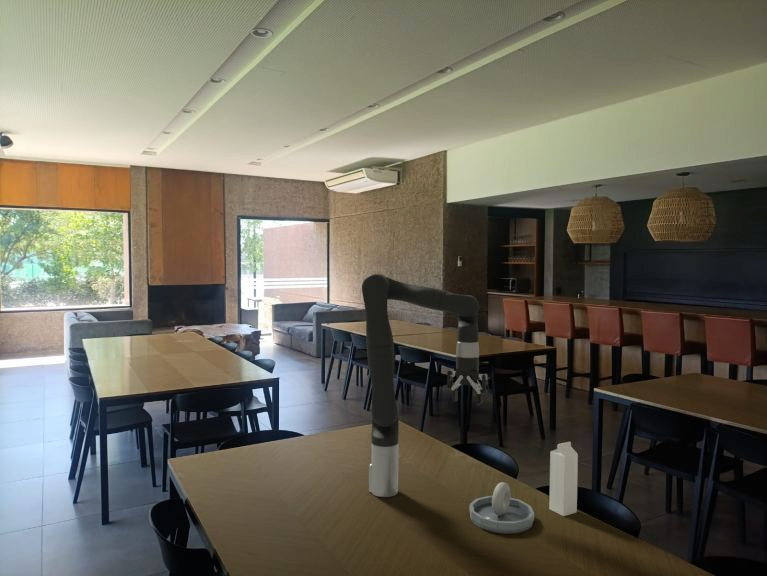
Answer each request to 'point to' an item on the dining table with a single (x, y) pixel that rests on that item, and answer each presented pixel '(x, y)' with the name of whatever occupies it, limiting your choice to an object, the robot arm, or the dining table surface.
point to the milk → (563, 479)
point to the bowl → (510, 523)
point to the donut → (501, 499)
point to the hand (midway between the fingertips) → (467, 402)
